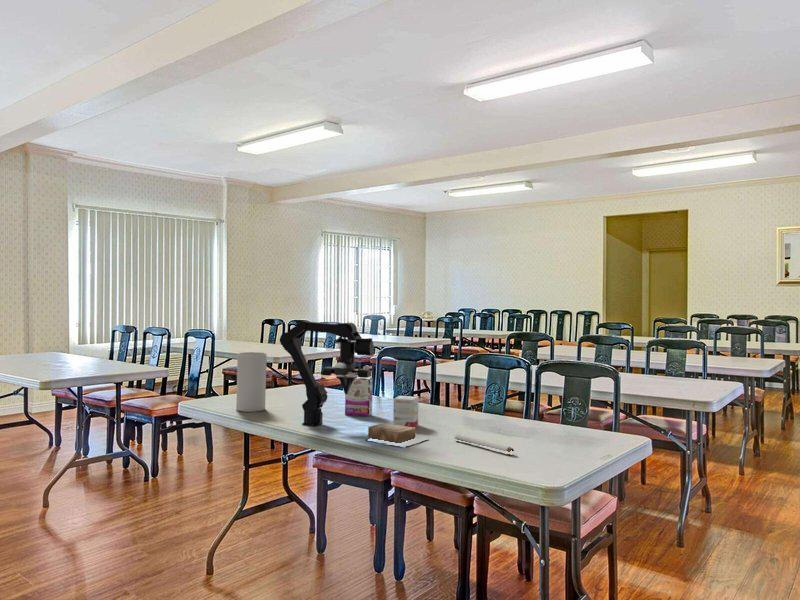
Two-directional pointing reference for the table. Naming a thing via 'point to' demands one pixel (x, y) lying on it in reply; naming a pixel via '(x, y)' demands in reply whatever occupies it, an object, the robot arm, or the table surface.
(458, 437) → the tube
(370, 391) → the candy bar box
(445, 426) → the table surface
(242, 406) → the cylinder vase
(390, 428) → the brown cardboard box
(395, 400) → the ink box
